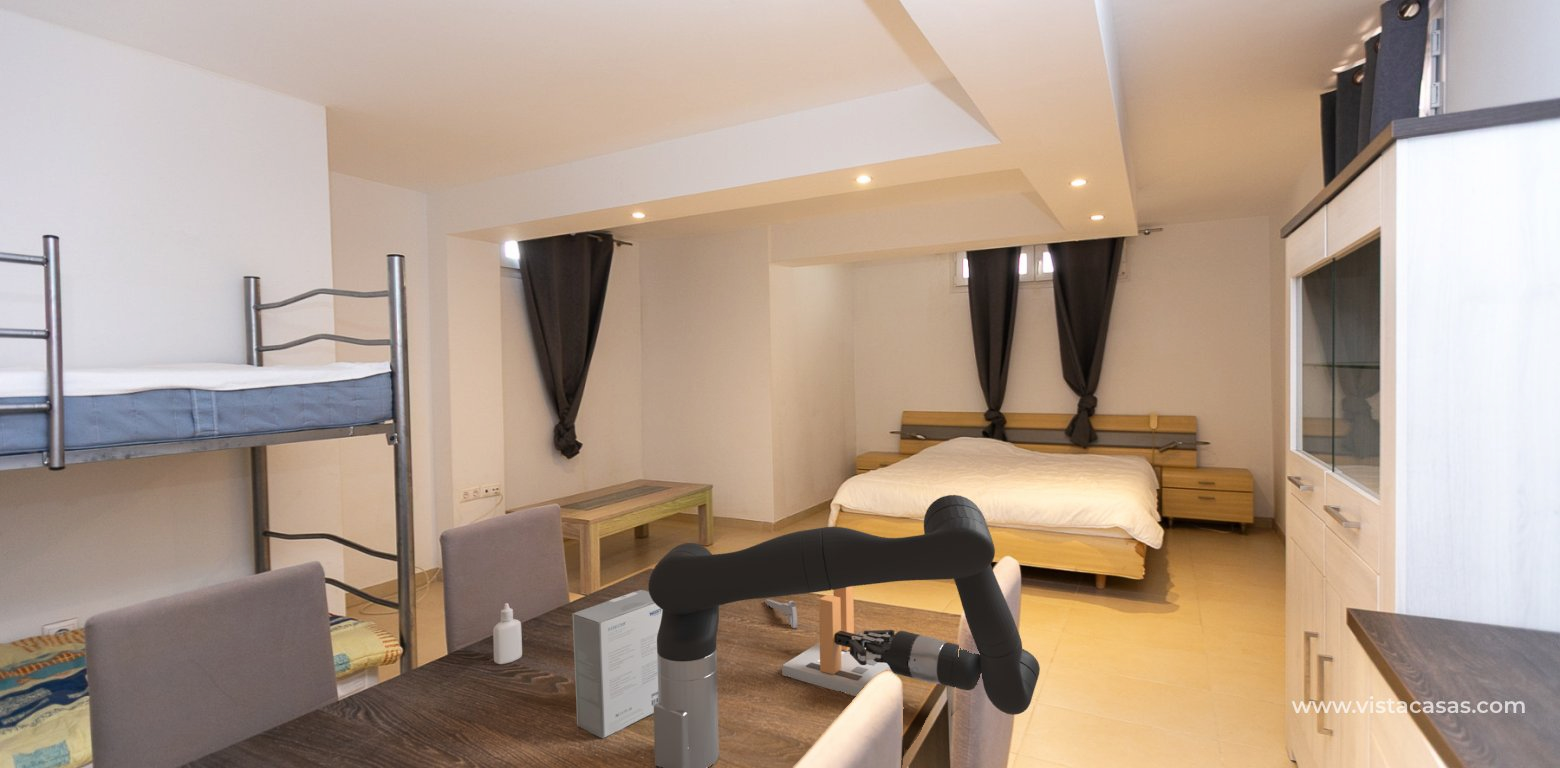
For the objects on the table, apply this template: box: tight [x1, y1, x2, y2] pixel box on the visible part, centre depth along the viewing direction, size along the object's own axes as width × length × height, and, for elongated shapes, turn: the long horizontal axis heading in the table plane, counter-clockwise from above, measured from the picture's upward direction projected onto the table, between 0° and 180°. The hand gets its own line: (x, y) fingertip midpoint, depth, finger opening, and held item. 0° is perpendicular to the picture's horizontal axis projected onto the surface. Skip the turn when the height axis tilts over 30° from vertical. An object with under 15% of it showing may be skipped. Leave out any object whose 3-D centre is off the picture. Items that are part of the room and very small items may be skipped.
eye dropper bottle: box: [492, 602, 523, 665], centre depth 152 cm, size 4×6×12 cm
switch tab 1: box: [818, 594, 842, 674], centre depth 139 cm, size 3×3×14 cm
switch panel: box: [781, 641, 891, 697], centre depth 144 cm, size 17×18×2 cm
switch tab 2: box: [833, 586, 855, 651], centre depth 150 cm, size 3×3×14 cm
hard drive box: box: [572, 589, 662, 739], centre depth 127 cm, size 16×8×20 cm, turn 141°
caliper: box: [763, 598, 798, 629], centre depth 177 cm, size 20×1×6 cm, turn 21°
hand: (836, 637), depth 138 cm, fingers closed
